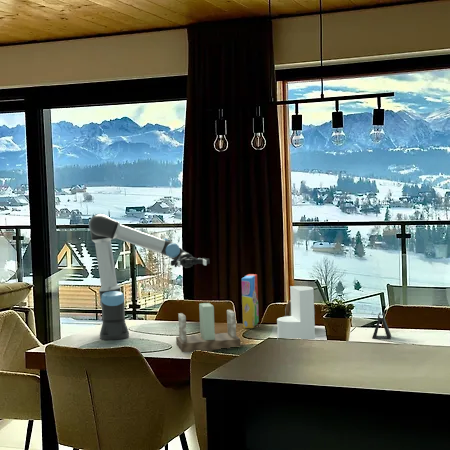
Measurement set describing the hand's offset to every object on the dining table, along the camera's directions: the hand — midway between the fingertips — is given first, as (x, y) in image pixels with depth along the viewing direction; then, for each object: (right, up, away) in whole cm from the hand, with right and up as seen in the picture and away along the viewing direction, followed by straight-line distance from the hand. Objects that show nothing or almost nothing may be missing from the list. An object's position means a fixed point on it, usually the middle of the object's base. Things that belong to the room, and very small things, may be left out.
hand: (192, 263), depth 383 cm
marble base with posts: (+8, -39, -20) cm, 45 cm away
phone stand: (+93, -36, -16) cm, 101 cm away
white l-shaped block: (+50, -38, -33) cm, 71 cm away
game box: (+31, -36, +31) cm, 57 cm away
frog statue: (+56, -36, +11) cm, 67 cm away
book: (+8, -35, -21) cm, 41 cm away
